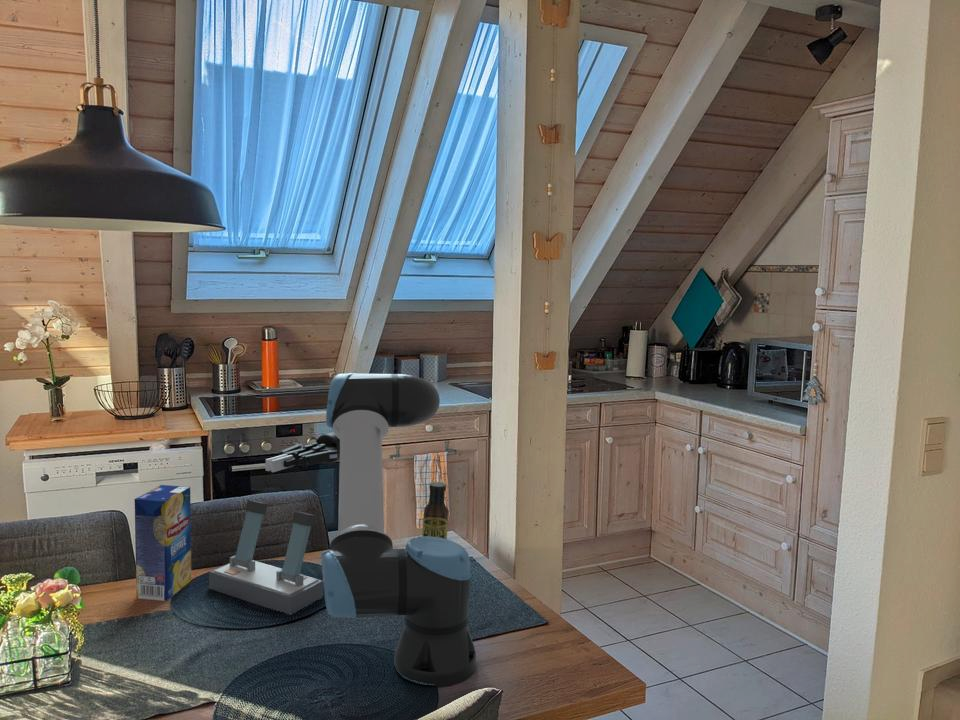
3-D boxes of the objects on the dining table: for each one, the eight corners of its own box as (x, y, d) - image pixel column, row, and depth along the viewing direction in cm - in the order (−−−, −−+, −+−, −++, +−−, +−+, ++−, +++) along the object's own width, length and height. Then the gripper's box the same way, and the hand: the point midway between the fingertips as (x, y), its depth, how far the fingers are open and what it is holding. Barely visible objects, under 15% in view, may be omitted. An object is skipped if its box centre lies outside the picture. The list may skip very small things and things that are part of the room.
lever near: (299, 582, 165) (315, 515, 168) (292, 582, 163) (308, 514, 166) (285, 578, 167) (301, 512, 169) (278, 578, 165) (294, 511, 167)
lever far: (251, 568, 172) (267, 504, 174) (244, 568, 170) (260, 503, 172) (238, 564, 173) (255, 500, 176) (231, 564, 171) (247, 499, 174)
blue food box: (191, 580, 174) (190, 486, 172) (166, 601, 164) (165, 501, 161) (162, 577, 175) (161, 484, 172) (136, 598, 164) (134, 499, 162)
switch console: (322, 598, 168) (323, 570, 167) (291, 615, 159) (291, 586, 158) (242, 573, 179) (242, 547, 178) (209, 588, 170) (209, 561, 170)
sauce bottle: (419, 565, 188) (421, 486, 185) (422, 555, 194) (424, 479, 192) (445, 566, 188) (448, 488, 185) (447, 557, 194) (450, 480, 191)
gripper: (356, 464, 194) (292, 486, 174) (314, 456, 201) (247, 476, 180) (357, 435, 193) (292, 454, 173) (314, 428, 200) (247, 445, 179)
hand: (269, 465), depth 176 cm, fingers closed
